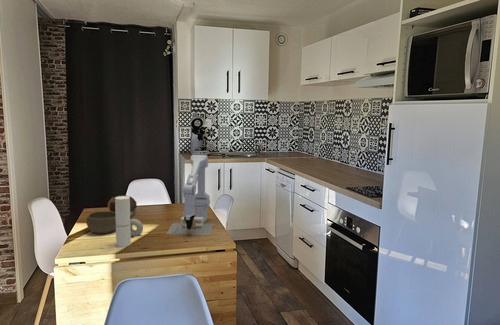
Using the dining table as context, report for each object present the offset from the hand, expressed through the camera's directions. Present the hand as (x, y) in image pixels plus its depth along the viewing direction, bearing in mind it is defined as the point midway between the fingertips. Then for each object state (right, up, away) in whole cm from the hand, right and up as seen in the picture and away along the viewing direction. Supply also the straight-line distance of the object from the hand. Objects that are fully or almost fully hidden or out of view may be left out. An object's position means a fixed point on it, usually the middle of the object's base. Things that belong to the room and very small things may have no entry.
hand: (189, 228), depth 208 cm
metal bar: (-9, -2, +4) cm, 10 cm away
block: (0, -1, +11) cm, 11 cm away
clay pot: (-49, +2, +38) cm, 62 cm away
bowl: (-50, -2, +3) cm, 50 cm away
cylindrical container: (-32, -5, -17) cm, 36 cm away
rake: (0, -2, +4) cm, 5 cm away
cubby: (-1, -2, +9) cm, 10 cm away
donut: (-30, -4, -4) cm, 30 cm away
